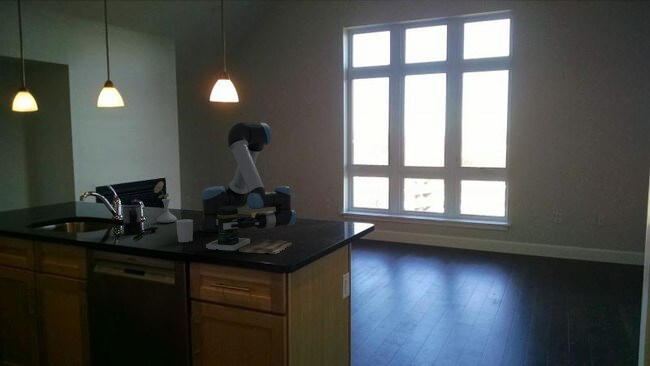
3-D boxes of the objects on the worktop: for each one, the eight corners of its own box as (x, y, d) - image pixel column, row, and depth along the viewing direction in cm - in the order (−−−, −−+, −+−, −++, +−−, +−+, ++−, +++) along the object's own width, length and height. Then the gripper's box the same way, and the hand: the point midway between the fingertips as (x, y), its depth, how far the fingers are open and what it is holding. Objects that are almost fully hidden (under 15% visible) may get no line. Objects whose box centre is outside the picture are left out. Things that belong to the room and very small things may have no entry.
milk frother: (120, 233, 253) (118, 205, 252) (148, 229, 265) (147, 202, 263) (132, 237, 244) (131, 208, 242) (161, 232, 255) (160, 205, 254)
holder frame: (206, 248, 216) (206, 244, 216) (223, 241, 231) (223, 237, 231) (233, 250, 212) (233, 246, 212) (250, 242, 227) (249, 238, 227)
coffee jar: (227, 249, 215) (226, 208, 213) (214, 246, 220) (213, 207, 218) (242, 244, 223) (241, 205, 222) (230, 242, 228) (228, 204, 226)
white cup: (184, 243, 228) (183, 222, 227) (173, 241, 232) (172, 221, 231) (197, 240, 234) (196, 220, 233) (186, 238, 239) (185, 218, 238)
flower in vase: (169, 220, 293) (167, 179, 291) (181, 221, 286) (179, 180, 284) (150, 223, 282) (148, 181, 280) (162, 225, 276) (160, 182, 273)
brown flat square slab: (238, 251, 210) (238, 247, 210) (256, 242, 227) (256, 238, 227) (276, 254, 205) (276, 249, 204) (291, 245, 222) (291, 240, 221)
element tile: (250, 219, 294) (250, 212, 293) (274, 217, 300) (274, 210, 299) (257, 223, 280) (257, 215, 279) (281, 221, 286) (281, 213, 285)
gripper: (273, 232, 219) (227, 237, 209) (256, 223, 240) (213, 228, 230) (273, 215, 218) (226, 220, 208) (256, 209, 239) (213, 212, 229)
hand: (219, 224), depth 219 cm, fingers open, 11 cm apart
